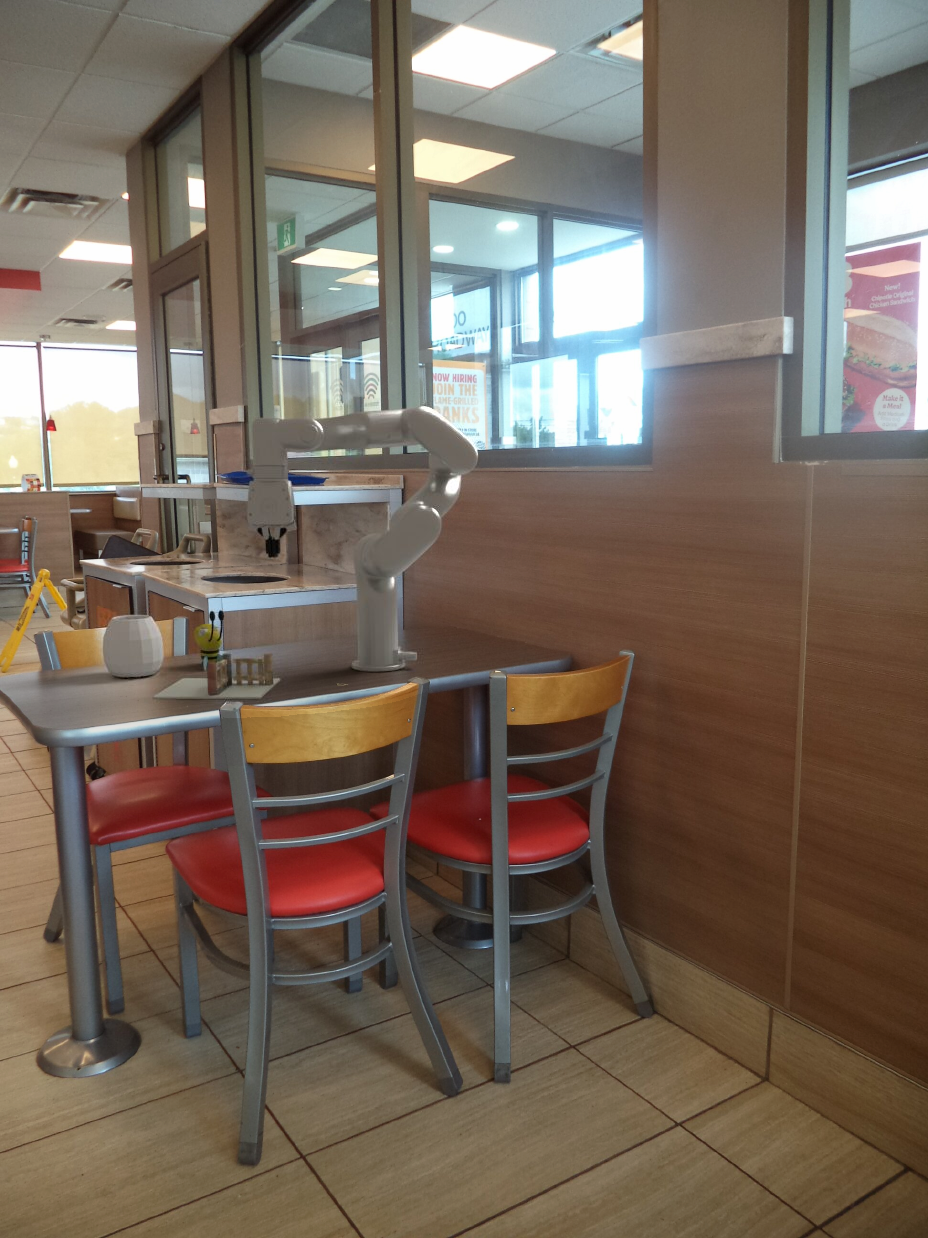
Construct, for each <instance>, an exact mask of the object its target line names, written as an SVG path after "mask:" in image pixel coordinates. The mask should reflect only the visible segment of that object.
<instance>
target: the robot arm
mask: <svg viewBox="0 0 928 1238" xmlns="http://www.w3.org/2000/svg"><path fill="white" fill-rule="evenodd" d="M251 442H252V444H251V446H252V465H253V466H252V467H251V468H250V469H247V470H246V475H247V476H251V477H252V479H253V480H250V481H249V483H248V491H247V509H246V510H247V512H246V513H247V515H246V517H247V519H246V520H247V523H248V527H247V529H248V530H249V532H251V531H252V532H255V533H258V534H259V535H260V536H261V537H262V538H263V540H265V554H266V555H267V554H268V555H267V557H268V559H271V558H274V559H275V558H279V554H281V551H282V550H281V539H282V538H283V537H284V535H286V534H287V533H289V532H292V531H296V530H297V529H298V528H297V523H296V520H297V518H296V515H297V514H296V501H295V496H294V488H293V484H292V481H291V480H289V473H288V472H289V470H288V469H289V468H288V467H289V466H288V463H289V461H288V451H290V452H293V453H296V454H298V453H299V454H300V453H310V452H323V451H339V450H351V451H355V450H356V451H359V450H370V449H381V448H382V449H383V448H395V447H397V448H398V447H409V446H417V445H421V447H422V448H423V449H424V450H426V451H427V452H428V453H429V454H428V467H429V473H428V474H429V475H428V477H427V480H426V481H425V483H424V484H423V485H422V486H421V487H420V488H419V489H418V490H417V491H416V492H415V493H414V494H413V495H412V496H411V497H409V498H408V500H406V502H404V503H403V504H402V505H401V506H399V507H398V508H397V509H396V510H395V511H394V512H393V514H392V515H391V517H390V520H389V522H388V523H389V524H388V527H389V529H388V530H387V531H386V532H384V533H383V534H382V533H381V534H380V533H370V534H367V535H365V536H363V537H362V538H360V539H359V541H358V542H357V543H356V545H355V547H354V551H353V552H354V553H353V566H354V574H355V575H354V576H355V583H356V584H355V585H356V616H357V617H356V620H357V622H356V623H357V625H356V626H357V660H353V661H352V662H351V669H353V670H356V671H360V672H390V671H397V670H400V669H401V670H402V669H403V668H405V666H406V662H405V661H417V658H418V655H417V654H418V653H417V652H416V651H404V650H401V646H400V645H399V641H398V640H399V637H398V632H399V631H398V628H399V626H398V625H399V624H398V585H397V576H399V575H400V574H402V573H403V572H405V571H406V570H407V569H408V568H409V567H410V566H412V564H414V563H415V562H416V561H417V560H418V559H419V558H420V557H421V556H422V555H424V553H425V552H426V551H427V550H428V549H429V548H431V546H433V544H435V542H436V541H437V540H438V539H439V536H440V534H441V531H442V525H443V524H442V523H443V522H442V518H443V517H444V516H445V515H446V514H447V513H448V512H449V511H450V510H451V509H452V507H453V506H454V505H455V504H456V503H457V502H458V501H457V500H458V499H459V496H460V492H461V489H462V488H461V486H462V476H463V475H467V474H469V473H471V472H472V471H473V470H474V469H475V468H476V466H477V464H478V460H479V453H478V449H477V447H476V445H475V444H474V443H473V442H472V440H471V439H470V438H468V436H466V435H465V434H463V433H462V432H461V431H460V430H459V428H456V427H455V425H453V424H452V423H451V422H449V420H447V419H446V418H445V417H443V416H442V415H441V414H440V413H439V412H437V411H436V410H434V409H433V408H431V407H429V406H425V405H423V406H421V405H420V406H416V407H412V408H411V407H410V408H400V409H399V408H398V409H384V410H368V411H367V410H366V411H357V412H353V413H349V414H344V415H338V416H334V417H333V416H332V417H323V418H322V417H321V418H312V417H308V416H303V417H295V418H280V417H258V418H255V419H254V420H253V421H252V423H251ZM272 526H273V527H274V531H273V533H274V534H273V535H272V531H271V527H272Z"/></svg>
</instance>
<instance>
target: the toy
mask: <svg viewBox="0 0 928 1238" xmlns="http://www.w3.org/2000/svg"><path fill="white" fill-rule="evenodd" d="M217 616H218V617H217V619H219V621H220V628H219V627H218V626H215V625H214V624H215V620H216V613H215V612H214V611H213V610H210V612H209V615H208V617H209V621H210V622H211V623H204V624H201V625H199V626H197V627H196V628H195V629H194V631H193V638H194V641H195V643H196V644H197V646H199V647H200V651H199V654H200V659H201V661H202V662H201V664H202V667H203V671H205V672H207V663H208V662H216V663H218V662H220V661H222V660H223V655H222V654H221V652H220V648H221V645H222V643H223V639H222V635H223V630H224V629H223V627H224V622H223V620H224V619H225V614H224V611H223V610H221V609H220V610H219V611H218V612H217Z"/></svg>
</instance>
